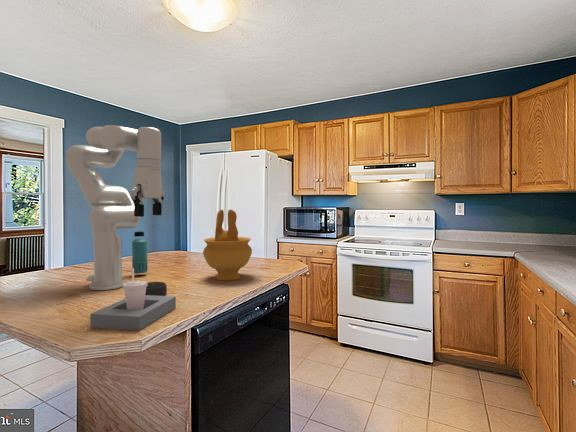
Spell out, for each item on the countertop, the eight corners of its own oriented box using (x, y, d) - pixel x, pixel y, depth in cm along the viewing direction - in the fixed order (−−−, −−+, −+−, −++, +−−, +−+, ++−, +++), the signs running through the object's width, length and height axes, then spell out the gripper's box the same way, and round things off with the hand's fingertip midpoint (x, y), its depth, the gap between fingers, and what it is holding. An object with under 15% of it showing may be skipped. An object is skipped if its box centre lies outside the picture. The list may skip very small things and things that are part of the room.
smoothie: (128, 313, 92) (127, 266, 92) (151, 312, 93) (150, 265, 93) (118, 321, 86) (118, 270, 86) (143, 320, 87) (142, 270, 86)
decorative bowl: (258, 273, 147) (258, 209, 146) (241, 284, 126) (241, 209, 125) (216, 271, 151) (216, 209, 150) (194, 281, 131) (193, 209, 130)
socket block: (90, 327, 82) (90, 313, 82) (134, 305, 100) (134, 294, 100) (139, 330, 80) (139, 316, 80) (175, 307, 98) (175, 296, 98)
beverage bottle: (137, 277, 139) (136, 232, 138) (128, 275, 142) (128, 231, 141) (150, 274, 144) (150, 231, 143) (142, 273, 148) (141, 230, 147)
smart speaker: (164, 290, 118) (164, 280, 118) (168, 296, 110) (168, 285, 110) (138, 294, 113) (137, 283, 113) (141, 300, 106) (141, 288, 106)
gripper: (154, 167, 116) (154, 214, 117) (120, 162, 99) (120, 216, 100) (173, 168, 114) (172, 215, 115) (142, 162, 97) (141, 217, 98)
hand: (148, 215), depth 107 cm, fingers open, 9 cm apart
